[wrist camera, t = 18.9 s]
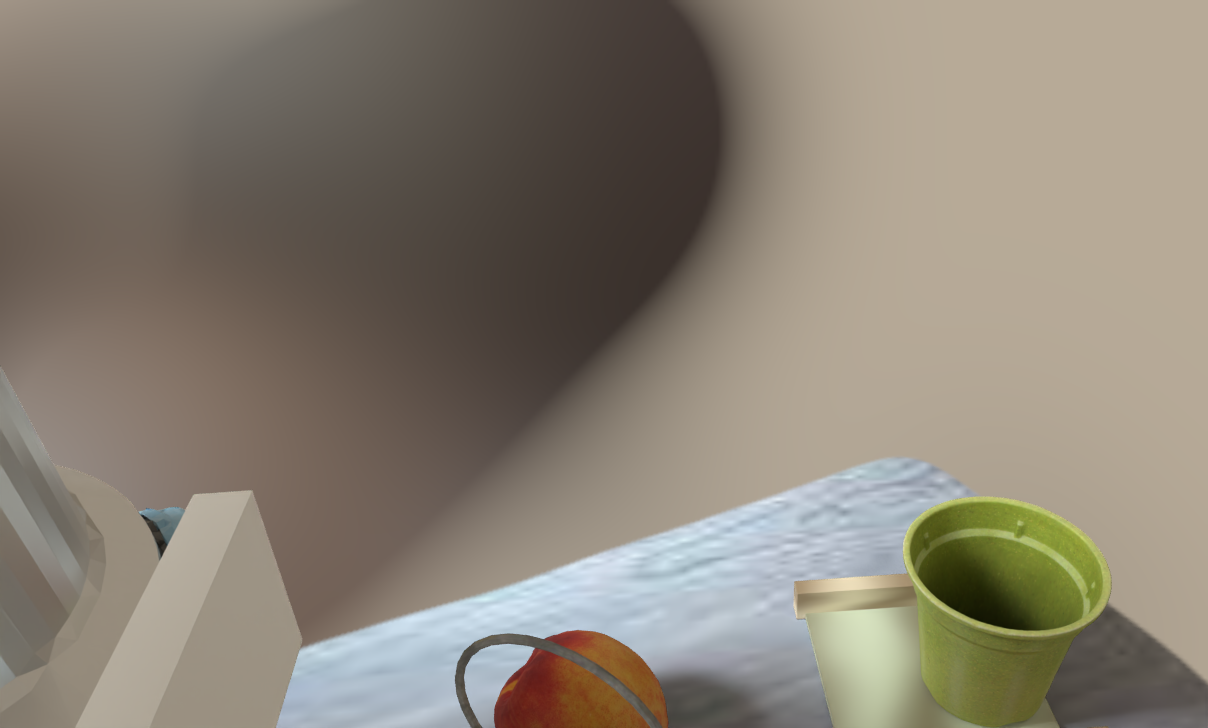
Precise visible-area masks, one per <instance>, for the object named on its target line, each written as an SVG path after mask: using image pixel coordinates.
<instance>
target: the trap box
mask: <svg viewBox="0 0 1208 728" xmlns="http://www.w3.org/2000/svg"><path fill="white" fill-rule="evenodd" d="M794 610H795V614H796V618H797V619H806V623H807V627H808V630H809V634H810V638H811V642H812V646H813V650H814V654H815V658H816V662H817V666H818V670H819V674H820V678H821V682H822V686H823V690H824V694H825V697H826V701H827V705H828V709H829V713H830V717H831V721H832V725H833V728H1060V727H1059V725H1058V723H1057V721H1056V719H1055V717H1054V714H1053V712H1052V710H1051V708H1050V706H1049V704H1048V702H1047V700H1046V698H1044V700H1043V702H1042V704H1041V706H1040V708H1039V709H1038V711H1037V712H1036V713H1035V714H1034V715H1033V716H1032V717H1030V718H1029V719H1027V720H1026V721H1019V722H1014V723H1009V724H1006V725H1003V726H1000V727H986V726H980V725H976V724H973V723H970V722H967V721H964V720H962V719H960V718H958V717H956V716H954V715H952V714H951V713H949V712H947V711H946V710H945V709H944V708H942V707H941V706H940V705H939V704H938V703H937V702H936V701H935V699H934V698H933V696H932V694H931V693H930V691H929V689H928V688H927V686H926V684H925V682H924V681H923V679H922V676H921V663H920V643H919V623H918V606H917V595H916V593H915V590H914V587H913V583H912V581H911V579H910V577H909V575H908V574H894V575H879V576H865V577H851V578H836V579H822V580H808V581H794ZM1089 728H1108V726H1105V727H1089Z"/></svg>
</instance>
